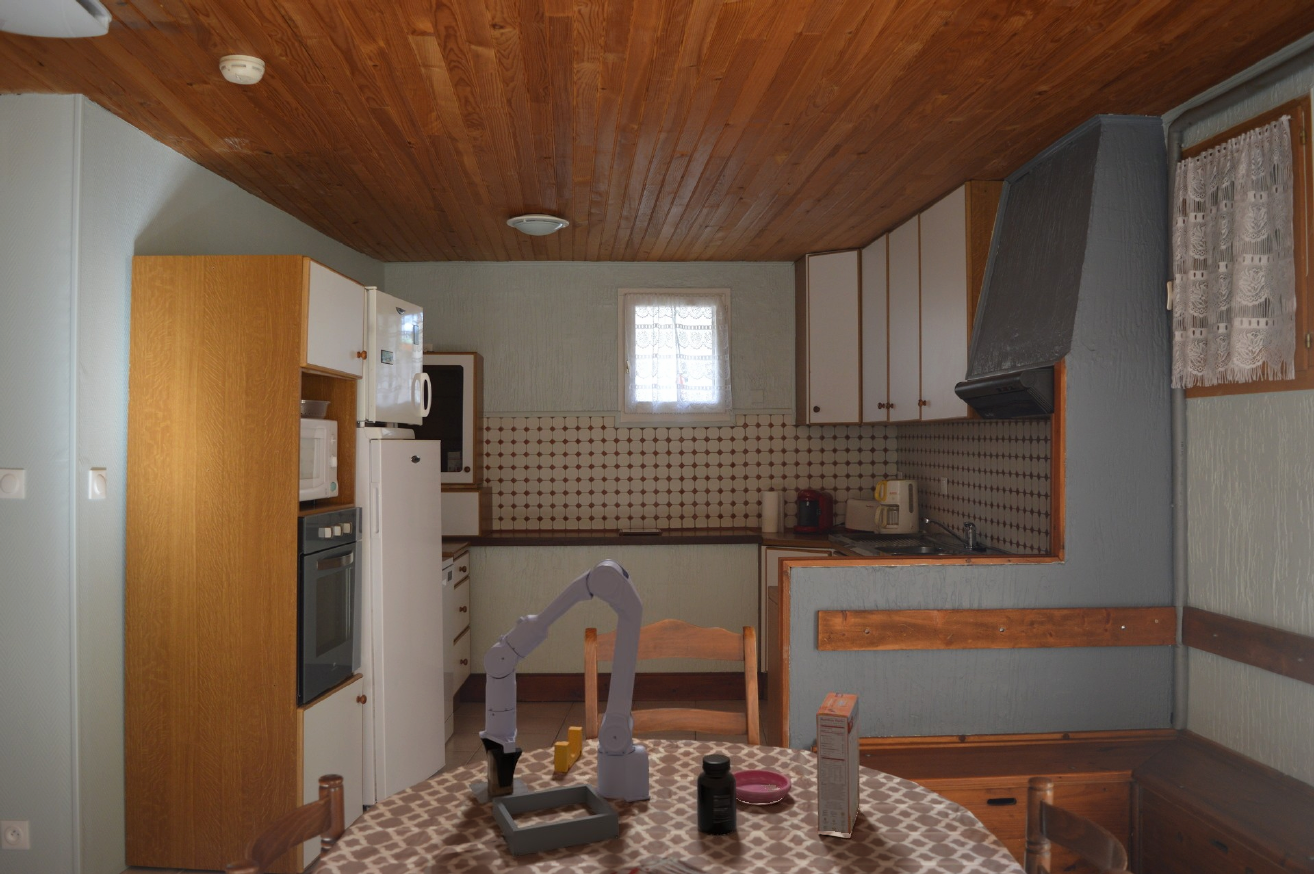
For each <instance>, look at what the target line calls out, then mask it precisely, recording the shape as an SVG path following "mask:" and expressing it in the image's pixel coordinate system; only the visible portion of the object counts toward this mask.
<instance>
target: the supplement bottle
mask: <svg viewBox="0 0 1314 874" xmlns="http://www.w3.org/2000/svg"><path fill="white" fill-rule="evenodd" d="M701 767H702V769H701V770H702V772H700V773H699V774H698V776H697V779H696V803H697V804H696V808H697V809H696V811H697V812H696V815H697V819H696V820H697V822H696V823H697V828H698V829H699V831H701V832H702V833H704V834H706V833H707V835H710V834H712V835H711V836H725V835H724V834H726V835H729V834H732V833H733V832H735V830H736V829H737V823H738V822H737V817H738V816H737V812H738V811H737V807H738V806H737V799H736V778H735V776H734V775H733V774H732V773H733V772H731V768H732V767H731V758H730V756H728V755H725V754H721V753H720V754H719V753H713V754H707V755H704V756H703V757H702V766H701ZM732 831H733V832H732ZM731 832H732V833H731ZM728 833H729V834H728Z"/></svg>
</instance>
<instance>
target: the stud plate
mask: <svg viewBox="0 0 1314 874" xmlns="http://www.w3.org/2000/svg"><path fill="white" fill-rule="evenodd" d="M468 787H469V788H470V789H471V792H472V793H473V795H474V797H475V798H476V801H478V804H479V805H481V804H486V803H493V798H495V797H501V796H508V795H515V794H521V793H528V792H531V790H530V789H529V788H528V786H527V785H526V783H525V782H524V780H522V778H521V776H519V777H518V776H517V777H514V783H513V792H509V793H503V794H496V795H492V794H491V792H490V791H489V789H488V781H482V782H475V783H469V784H468Z"/></svg>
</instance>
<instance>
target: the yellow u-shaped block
mask: <svg viewBox="0 0 1314 874" xmlns="http://www.w3.org/2000/svg"><path fill="white" fill-rule="evenodd" d="M583 729H584V728H583V727H582V726H569V728H568V729H567V730H568V731H567V732H568V733H567V739H566V740H567V741H564V740H562V741H556V742H555V743H554V746H553V747H554V754H553V762H554V763H553V765H554V766H553V771H554V772H559V773H567V772H568V771H569V769H571V768H572V766H573V765H574V764H575V763H576V761H577V760H578V759H579V758H580V757H581V758H583V731H584V730H583Z"/></svg>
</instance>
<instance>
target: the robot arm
mask: <svg viewBox="0 0 1314 874" xmlns="http://www.w3.org/2000/svg"><path fill="white" fill-rule="evenodd" d="M594 597H597V598H598V599H599V600H601V601H603V602H605V603H606V604H608V605H609V607H610V608H611V609H612V610H613V611H614V612H615V613H616V614H617V617H618V618H617V626H616V632H615V633H616V634H615V642H614V651H613V658H612V665H611V666H612V667H611V675H610V682H609V691H608V698H607V705H606V711H605V712H604V714H603V715H602V719H601V725H600V729H599V730H598V732H597V733H598V734H597V739H598V740H597V741H598V744H597V753H596V755H597V756H596V757H597V759H596V760H597V761H596V762H597V763H596V765H597V767H596V770H597V771H596V772H597V774H596V776H597V778H596V790H597V791H598V792H599V793H600V794H601V796H602V797H603V798H605V799H606V798H607V799H615V800H616V799H624V801H626V803H630V802H637V801H643V800H649V799H651V794H650V761H649V755H648V751H647V749H646V747H645V746H644V745H642V744H638V745H636V743H635V742H634V741H633V729H634V727H635V718H634V716H633V713H632V704H633V703H632V701H633V695H634V694H633V693H634V686H635V677H636V668H637V661H638V653H639V644H640V637H641V630H642V629H641V627H642V622H643V621H642V620H643V613H644V612H643V610H644V603H643V600H642V599H641V597H640V594H639V593H638V591H637V588H636V586H635V584H634V583H633V581H632V578H631V576H630V573H629V572H628V571H627V569H626V568H625V567H623V566H622V565H621V564H620V563H619V562H618V561H616V560H614V559H610V558H609V559H602V560H600V561H599V562H597V564H596V565H594V567H593V569H592V568H589V569H588V570H586V571H585V572H583V573H582V574H581V575H579V576H577V578H575V579H574V580H573V581H572V582H570V583H569V585H567V586H566V587H565V588H564V589H563V590H562V591H561V592H560V593H559V594H558V595H557V596H556V597H555V598H554V599H553V600H552V601H551V602H550V603H549V604H548V605H546V607H544V608H543V610H542V611H541V612H540V613H538V614H526V616H524V617H523V616H520V617H519V618H517V620H516V621H515V623H516V625H515V626H514V627H513V628H511V630H509V631H508V632H507V633H506V634H505V635H504V634H501V635H500V636H499V637H497V641H498V642H496V643H494V644H493V646H492V647H490V648H489V649H488V651H487V652H486V653H485V655H484V657H483V667H484V670H485V672H486V683H485V730H483V731H482V730H481V731H479V732H478V733H479V734H478V736H479V739H480V741H481V742H482V744H483V748H484V750H485V753H486V755H487V753H488V750H490V752H491V754H492V756H493V758H494V761H495V764H496V769H497V777H498V783H499V787H500V788H503V787H509V786H511V784H512V780H513V776H514V775H515V771H516V767H517V764H518V762H519V760H520V758H521V756H522V755H523V749H522V748H521V747H516V739H517V736H518V729H517V681H516V680H517V679H516V678H517V677H516V669H517V668H516V666H517V665H518V663H519V661H522V660H524V659H526V658H527V657H528V656H529V655H530V654H531V653H532V652H533V651H534V650H535V649H536V648H537V647H539V646H540V645H541V644H542V643H543V642H544V641H546V639H547V638H548V636H549V627H550V626H552V625H553V624H554V623H555V622H556V621H557V620H559V619H560V618H561V617H562V616H563V615H564V614H565V613H567V612H568V611H569V610H570V609H572V607H574V606H575V605H576V604H577V603H578V602H584V601H590V600H593V598H594Z"/></svg>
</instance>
